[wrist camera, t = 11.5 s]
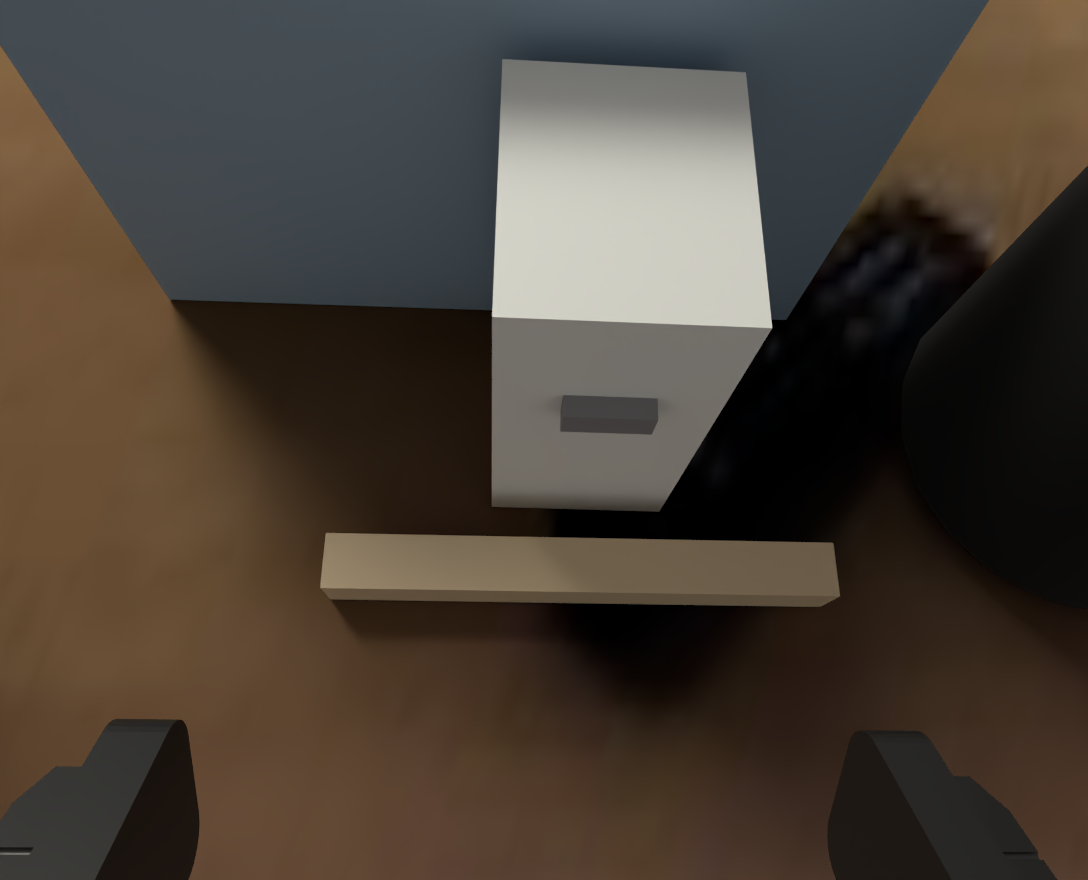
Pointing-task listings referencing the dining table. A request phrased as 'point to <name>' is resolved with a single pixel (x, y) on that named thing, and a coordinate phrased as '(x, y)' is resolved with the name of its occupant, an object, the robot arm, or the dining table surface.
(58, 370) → the dining table surface
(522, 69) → the cabinet
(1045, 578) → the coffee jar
